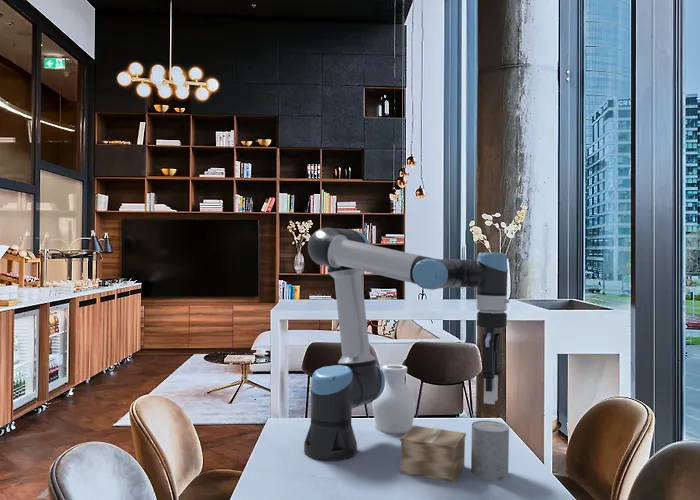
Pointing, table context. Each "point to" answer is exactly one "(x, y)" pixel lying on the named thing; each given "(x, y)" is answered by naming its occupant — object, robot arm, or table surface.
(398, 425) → the vase
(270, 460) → the table surface
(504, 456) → the grey cylinder
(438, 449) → the box
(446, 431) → the lid
